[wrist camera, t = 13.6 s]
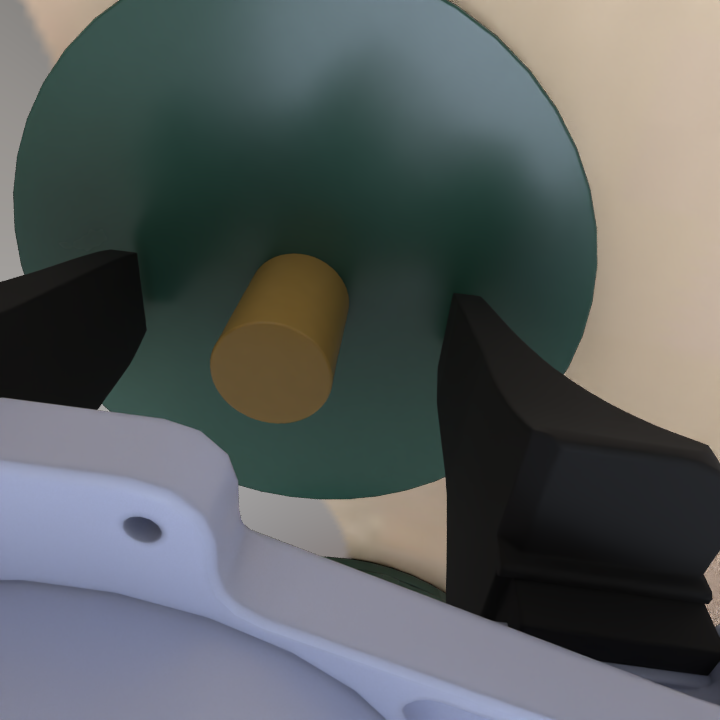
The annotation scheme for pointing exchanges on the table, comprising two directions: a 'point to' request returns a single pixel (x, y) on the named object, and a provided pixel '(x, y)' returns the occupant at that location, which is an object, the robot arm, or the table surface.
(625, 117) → the table surface
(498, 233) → the lid
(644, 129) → the table surface
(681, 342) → the table surface
